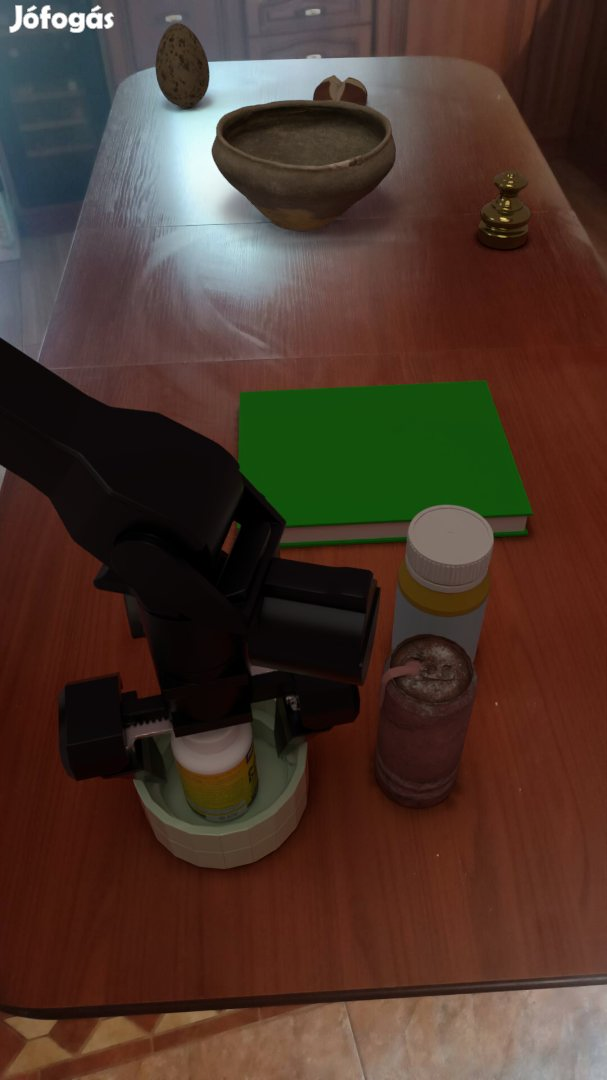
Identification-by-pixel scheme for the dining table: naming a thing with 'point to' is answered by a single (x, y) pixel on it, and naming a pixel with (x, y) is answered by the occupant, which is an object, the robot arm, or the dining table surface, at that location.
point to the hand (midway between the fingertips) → (222, 764)
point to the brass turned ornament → (505, 214)
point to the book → (378, 459)
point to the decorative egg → (182, 67)
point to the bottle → (444, 576)
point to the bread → (341, 90)
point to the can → (423, 718)
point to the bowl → (304, 158)
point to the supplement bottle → (217, 771)
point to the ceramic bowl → (245, 834)
